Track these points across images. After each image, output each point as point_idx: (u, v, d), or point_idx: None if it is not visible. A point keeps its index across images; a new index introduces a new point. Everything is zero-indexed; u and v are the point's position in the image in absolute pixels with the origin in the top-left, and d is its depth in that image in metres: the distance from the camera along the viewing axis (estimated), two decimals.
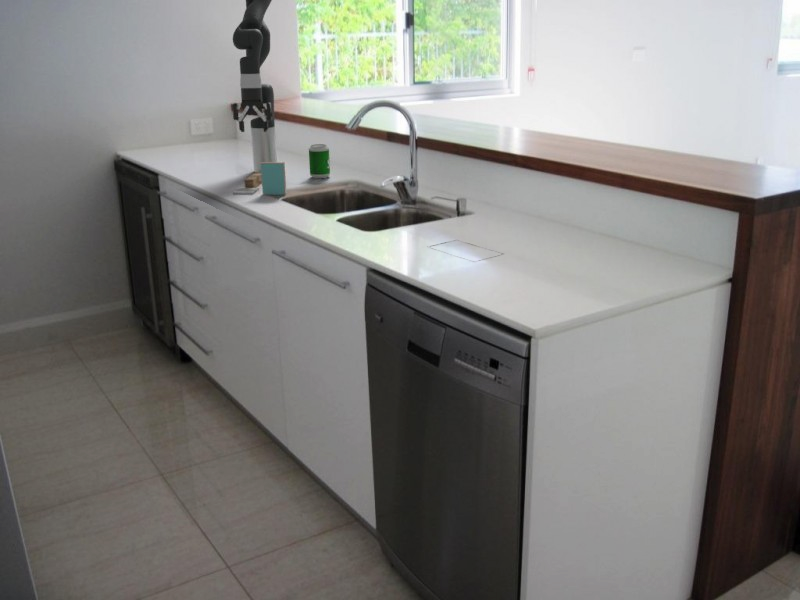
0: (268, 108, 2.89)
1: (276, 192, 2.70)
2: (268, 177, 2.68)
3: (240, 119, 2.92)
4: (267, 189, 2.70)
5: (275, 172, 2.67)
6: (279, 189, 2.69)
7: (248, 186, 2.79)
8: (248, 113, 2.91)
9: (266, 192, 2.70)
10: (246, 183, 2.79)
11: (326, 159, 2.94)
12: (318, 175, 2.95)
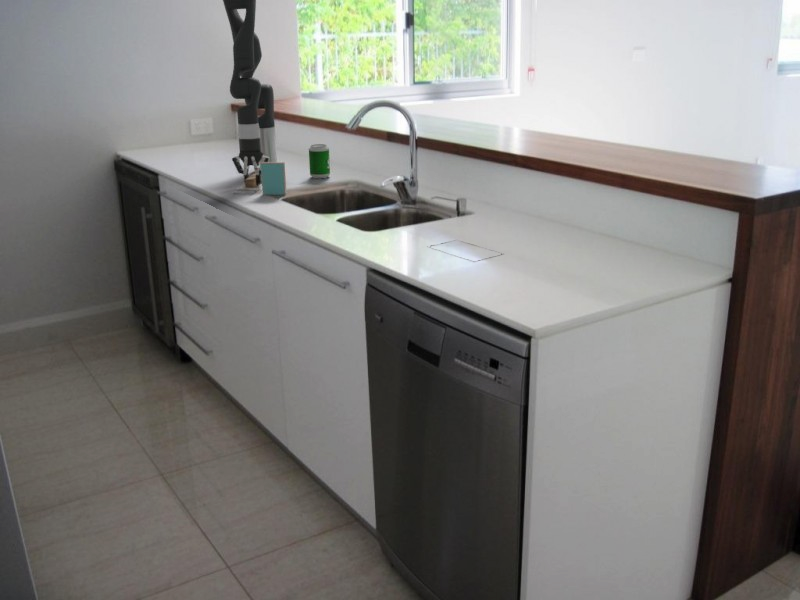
0: None
1: (276, 192, 2.70)
2: (268, 177, 2.68)
3: (245, 173, 2.81)
4: (267, 189, 2.70)
5: (275, 172, 2.67)
6: (279, 189, 2.69)
7: (248, 186, 2.79)
8: (249, 163, 2.80)
9: (266, 192, 2.70)
10: (246, 183, 2.79)
11: (326, 159, 2.94)
12: (318, 175, 2.95)
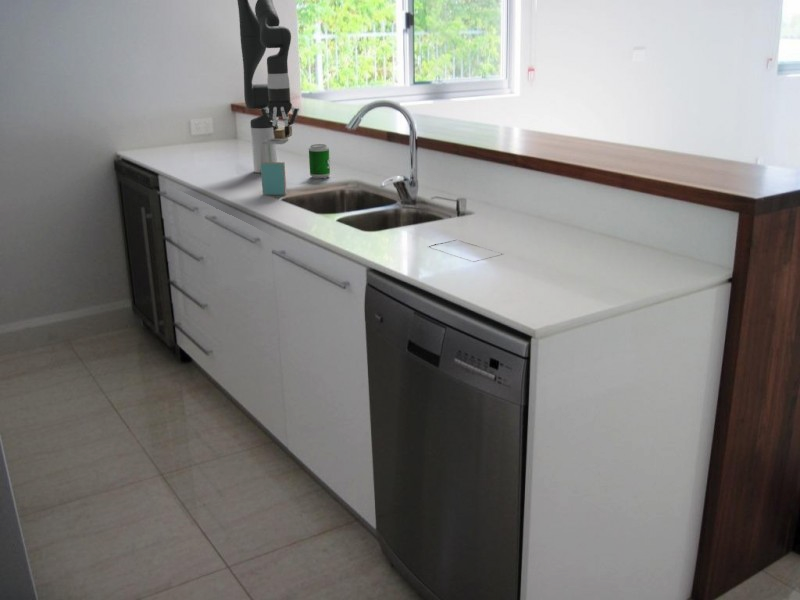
0: (294, 113, 2.77)
1: (276, 192, 2.70)
2: (268, 177, 2.68)
3: (274, 124, 2.79)
4: (267, 189, 2.70)
5: (275, 172, 2.67)
6: (279, 189, 2.69)
7: (277, 137, 2.77)
8: (278, 114, 2.78)
9: (266, 192, 2.70)
10: (275, 134, 2.77)
11: (326, 159, 2.94)
12: (318, 175, 2.95)
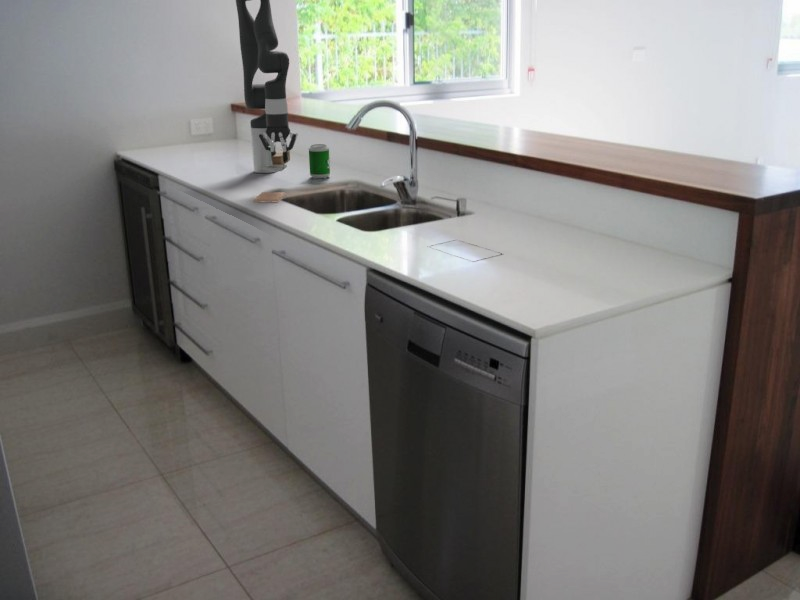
0: (293, 139, 2.73)
1: None
2: None
3: (272, 149, 2.75)
4: None
5: None
6: None
7: (275, 163, 2.72)
8: (276, 139, 2.74)
9: None
10: (273, 160, 2.72)
11: (326, 159, 2.94)
12: (318, 175, 2.95)
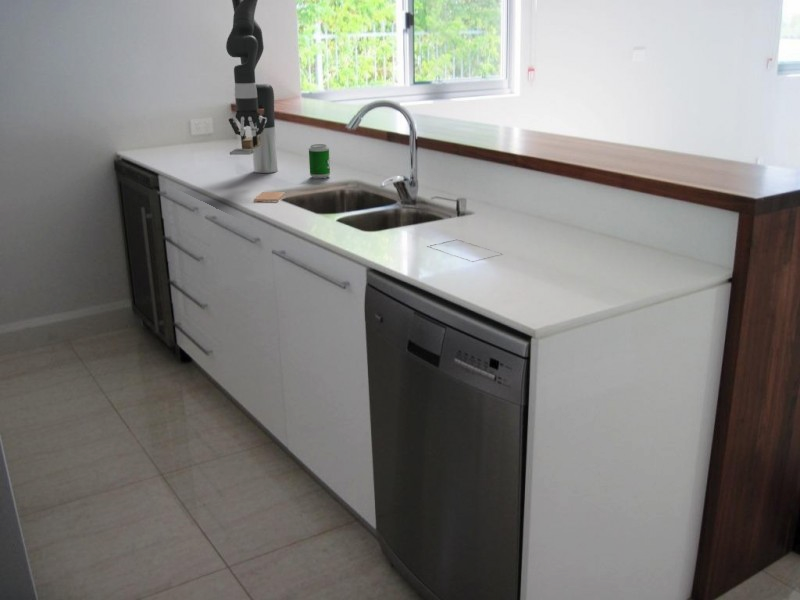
0: (262, 123, 2.75)
1: None
2: None
3: (242, 134, 2.77)
4: None
5: None
6: None
7: (245, 147, 2.74)
8: (246, 124, 2.75)
9: None
10: (243, 144, 2.74)
11: (326, 159, 2.94)
12: (318, 175, 2.95)
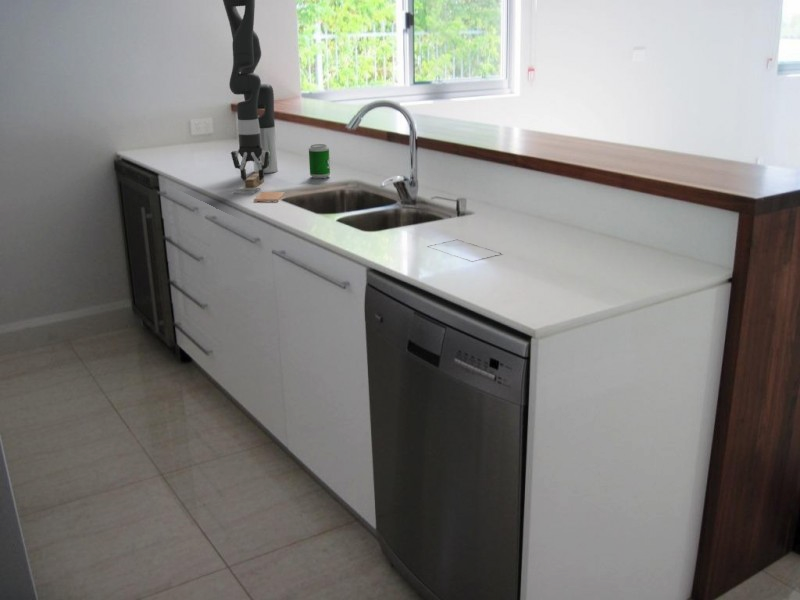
0: (266, 157, 2.79)
1: None
2: None
3: (242, 167, 2.81)
4: None
5: None
6: None
7: (248, 186, 2.79)
8: (248, 159, 2.80)
9: None
10: (246, 183, 2.79)
11: (326, 159, 2.94)
12: (318, 175, 2.95)
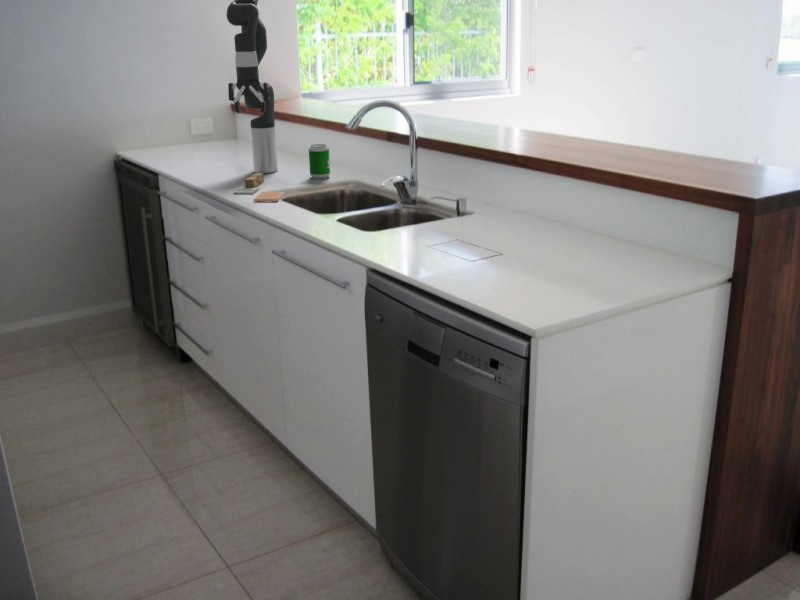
0: (265, 88, 2.74)
1: None
2: None
3: (236, 100, 2.77)
4: None
5: None
6: None
7: (248, 186, 2.79)
8: (244, 93, 2.76)
9: None
10: (246, 183, 2.79)
11: (326, 159, 2.94)
12: (318, 175, 2.95)
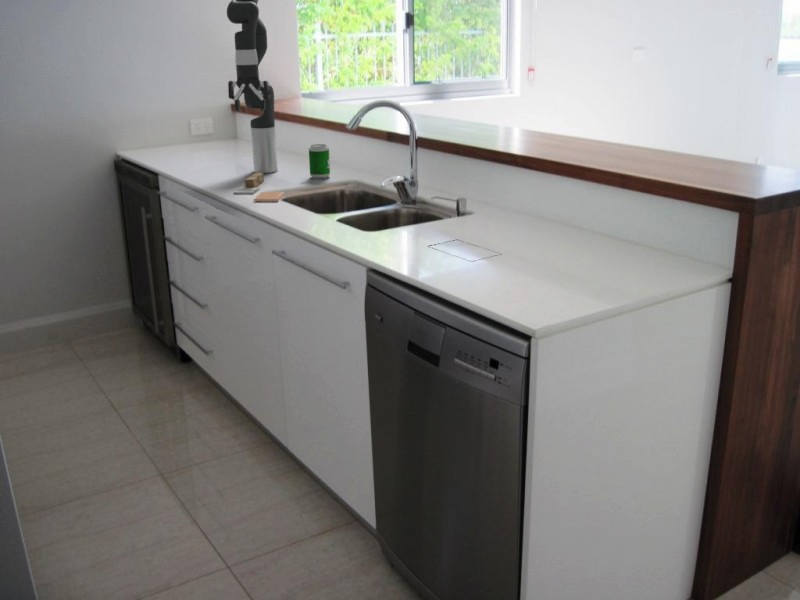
0: (265, 86, 2.74)
1: None
2: None
3: (236, 98, 2.77)
4: None
5: None
6: None
7: (248, 186, 2.79)
8: (244, 91, 2.76)
9: None
10: (246, 183, 2.79)
11: (326, 159, 2.94)
12: (318, 175, 2.95)
